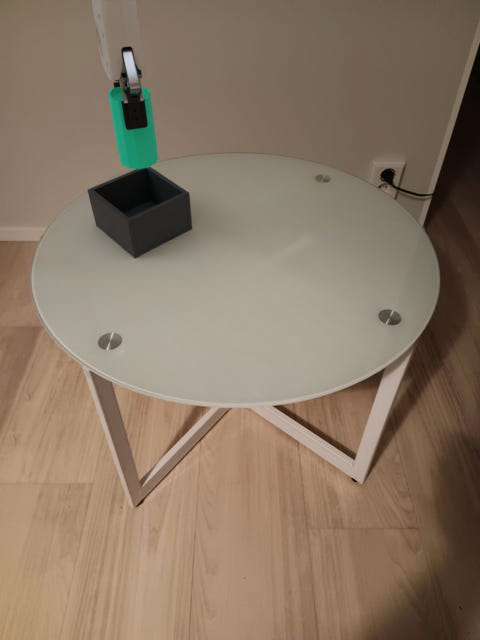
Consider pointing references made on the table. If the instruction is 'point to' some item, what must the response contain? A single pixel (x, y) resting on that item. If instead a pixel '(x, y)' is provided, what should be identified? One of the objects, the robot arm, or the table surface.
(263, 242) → the table surface
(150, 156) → the candle
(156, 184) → the bin
